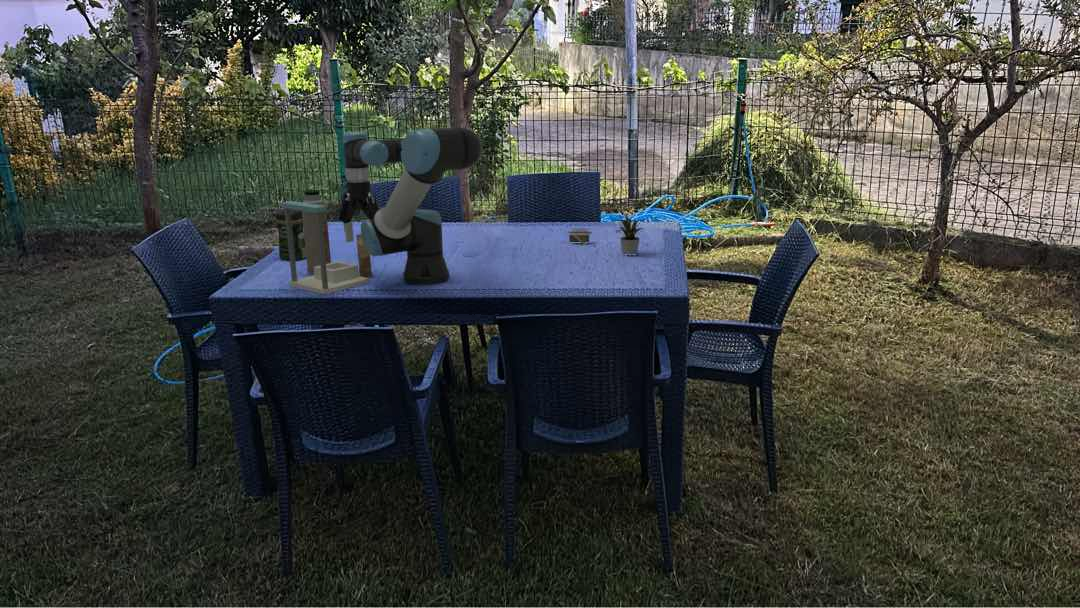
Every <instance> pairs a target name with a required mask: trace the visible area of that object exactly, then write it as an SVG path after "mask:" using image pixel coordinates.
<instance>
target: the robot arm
mask: <svg viewBox="0 0 1080 608" xmlns="http://www.w3.org/2000/svg"><path fill="white" fill-rule="evenodd" d="M342 135H343V136H342V138H343V139H342V141H343V143H342V147H343V157H344V165H345V166H344V168H345V179H346V180H347V182H346V193H343V195H342V204H341V208H340V212H339V217H338V220H339V221H341V222H342V223H343V229H344V230H343V231H344V234H345V235H344V236H345V243H352V242H354V227H353V222H352V221H353V219H352V218H354V215H355V213H356V211H357V210H360V211H361V212H364V214H365V216H366V218H367V219H364V220H363V221H362V222H361V224H360V234H361V236H362V241H363V244H364V247H365V249H366V250H367V252H368V253H369V254H370V256H372V257H383V256H387V255H394V254H398V253H405V252H406V256H407V257H406V262H405V266H404V271H403V272H402V278H403V279H402V280H403V282H404V283H406V284H411V285H418V286H419V285H421V286H422V285H423V286H424V285H425V286H426V285H435V283H436V284H441V283H443V282H446V281H448V280H450V270H449V268H448V266H447V262H446V260H445V257H444V250H443V249H444V248H443V247H444V246H443V228H442V227H443V223H442V222H443V221H442V217H441V214H440V213H439V211H437V210H432V209H425V208H419V207H420V205H421V203H422V201H423V200H424V198H425V197H426V196H427V194H428V192H429V190H430V188H431V187H432V185H435V184H437V183H439V182H441V180H442V179H443V176H444V175H445V173H447V172H449V171H458V170H460V171H461V170H465V169H469V168H472V167H474V166H475V165H476V164H477V163H478V162H479V161H480V159H481V157H482V155H483V150H484V147H483V146H484V145H483V142H482V139H481V137H480V136H479V135H478V134H477V132H475V131H474V130H472V129H470V128H467V127H463V126H461V127H459V126H457V127H442V128H441V127H440V128H420V129H415V130H411V131H409V133H407V134H406V135H405V137H403V138H393V139H392V138H390V139H389V138H388V139H387V138H386V139H372V140H371V139H370V140H369V139H368V135H367V133H366V132H365V131H348V132H345V133H344V134H342ZM395 163H396V164H397V163H402V166H403V167H404V171H403V172H402V174H401V176H400V178H399V179H398V182H397V183H396V185H395V187H394V189H393V191H392V193H391V194H390V196H389V198H388V201H387V203H386V205H385V206H384V207H381V208H379V205H378V204H377V198H376V196H369V193H370V192H371V182H370V177H371V176H370V167H379V166H383V165H385V164H395ZM369 166H370V167H369ZM440 282H441V283H440Z"/></svg>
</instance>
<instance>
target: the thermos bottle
mask: <svg viewBox="0 0 1080 608" xmlns="http://www.w3.org/2000/svg"><path fill="white" fill-rule="evenodd" d="M320 194H321V193H320V190H309V191H305V192H304V195H305V196H304V197H305V198H304V199H305V200H304V201H303V202H302V203H309V204H316V205H323V206H325V205H324V204H325V203H324V200H322V199H321V195H320ZM327 213H328V211H324V212H321V216H322V227H323V238H324V248H325V259H326V264H329V263H332V258H331V257H332V256H331V248H330V246H331V245H330V236H329V226H328V225H329V224H328V214H327ZM302 219H303V232H304V239H305V248H306V258H305V259H306V265H307V274H308V275H309V274H310V275H309V276H314V267H316V266H320V256H319V245H318V235H317V224H316V214H315V213H314V212H307V211H302Z"/></svg>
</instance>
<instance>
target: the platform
mask: <svg viewBox="0 0 1080 608" xmlns="http://www.w3.org/2000/svg"><path fill="white" fill-rule="evenodd" d="M572 230H574V231H566V234H567V235H568V237H569V238H568V240H569V241H568V243H569V242H581V243H585V242H589V243H590V235H592V233H593V231H588V228H581V227H579V228H572ZM583 230H584V231H583Z"/></svg>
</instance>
